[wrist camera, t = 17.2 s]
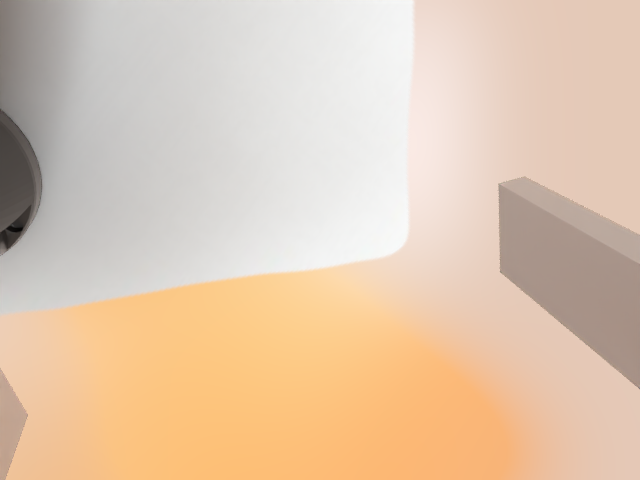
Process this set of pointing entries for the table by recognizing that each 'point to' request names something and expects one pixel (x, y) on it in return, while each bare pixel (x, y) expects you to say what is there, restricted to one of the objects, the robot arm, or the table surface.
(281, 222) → the table surface
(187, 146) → the table surface
